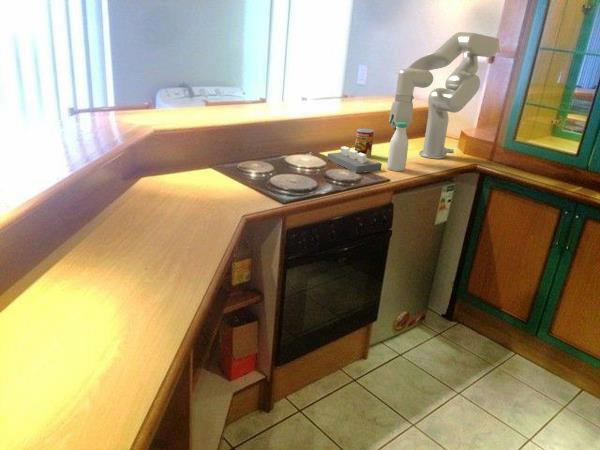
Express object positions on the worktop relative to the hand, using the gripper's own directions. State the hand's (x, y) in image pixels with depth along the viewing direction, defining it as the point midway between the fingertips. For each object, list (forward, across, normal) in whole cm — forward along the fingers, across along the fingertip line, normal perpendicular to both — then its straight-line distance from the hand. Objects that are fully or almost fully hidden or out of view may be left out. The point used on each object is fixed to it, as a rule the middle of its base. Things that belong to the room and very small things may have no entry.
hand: (398, 140), depth 221 cm
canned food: (+10, +10, -12) cm, 18 cm away
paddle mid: (+6, +24, 0) cm, 25 cm away
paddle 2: (+6, +24, +6) cm, 26 cm away
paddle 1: (+6, +24, -6) cm, 25 cm away
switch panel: (+10, +24, 0) cm, 26 cm away
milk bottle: (+10, +10, +12) cm, 18 cm away
